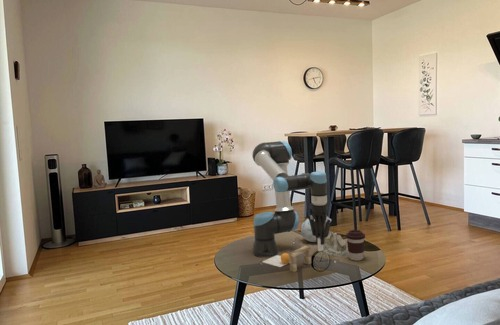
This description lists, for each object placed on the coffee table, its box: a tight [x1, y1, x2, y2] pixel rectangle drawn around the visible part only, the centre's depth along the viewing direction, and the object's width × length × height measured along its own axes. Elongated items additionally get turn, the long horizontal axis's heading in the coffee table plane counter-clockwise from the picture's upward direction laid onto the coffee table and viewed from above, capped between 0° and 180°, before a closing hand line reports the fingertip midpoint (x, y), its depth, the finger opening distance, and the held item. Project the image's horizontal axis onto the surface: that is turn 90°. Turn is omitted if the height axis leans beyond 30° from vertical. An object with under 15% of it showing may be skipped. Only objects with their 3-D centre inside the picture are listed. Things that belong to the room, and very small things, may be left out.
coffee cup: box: [345, 229, 366, 262], centre depth 199 cm, size 10×10×15 cm
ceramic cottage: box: [321, 231, 349, 258], centre depth 213 cm, size 16×16×15 cm
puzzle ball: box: [300, 218, 316, 243], centre depth 233 cm, size 15×15×15 cm
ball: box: [280, 252, 290, 265], centre depth 199 cm, size 6×6×6 cm
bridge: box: [288, 245, 312, 273], centre depth 192 cm, size 3×14×9 cm, turn 136°
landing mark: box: [262, 254, 290, 268], centre depth 203 cm, size 13×13×1 cm
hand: (320, 250), depth 183 cm, fingers closed
